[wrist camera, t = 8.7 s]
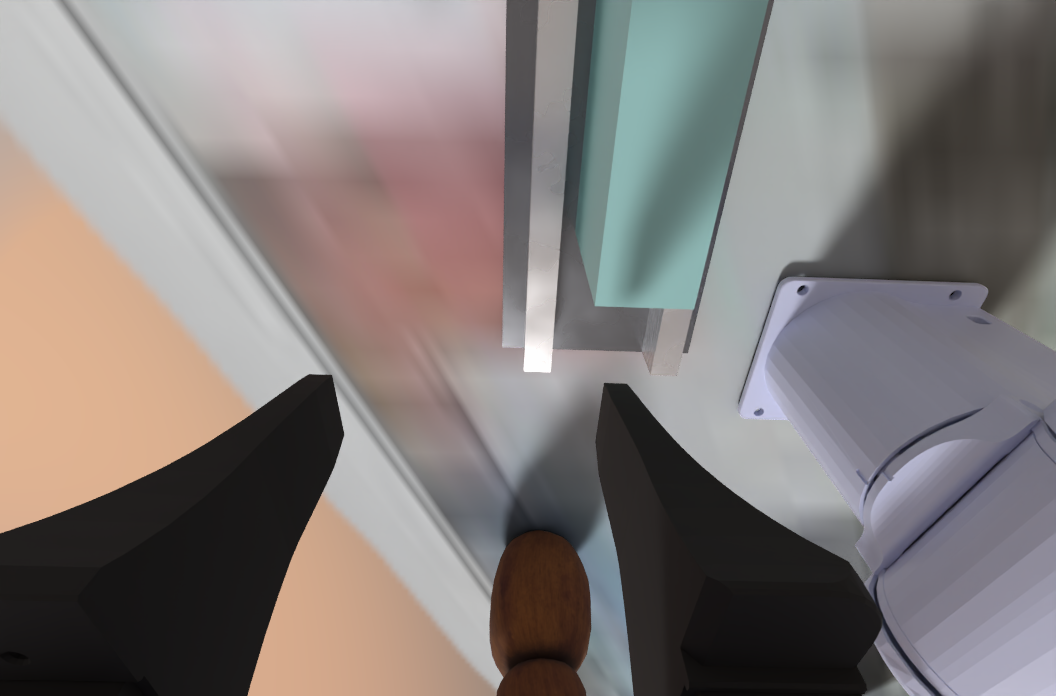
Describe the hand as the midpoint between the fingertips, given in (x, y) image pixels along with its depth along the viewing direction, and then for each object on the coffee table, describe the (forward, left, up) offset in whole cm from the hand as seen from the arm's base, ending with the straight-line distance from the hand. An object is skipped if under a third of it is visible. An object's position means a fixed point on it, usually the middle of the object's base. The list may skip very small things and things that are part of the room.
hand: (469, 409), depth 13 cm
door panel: (-5, -6, -10) cm, 13 cm away
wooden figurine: (-3, +20, -11) cm, 23 cm away
